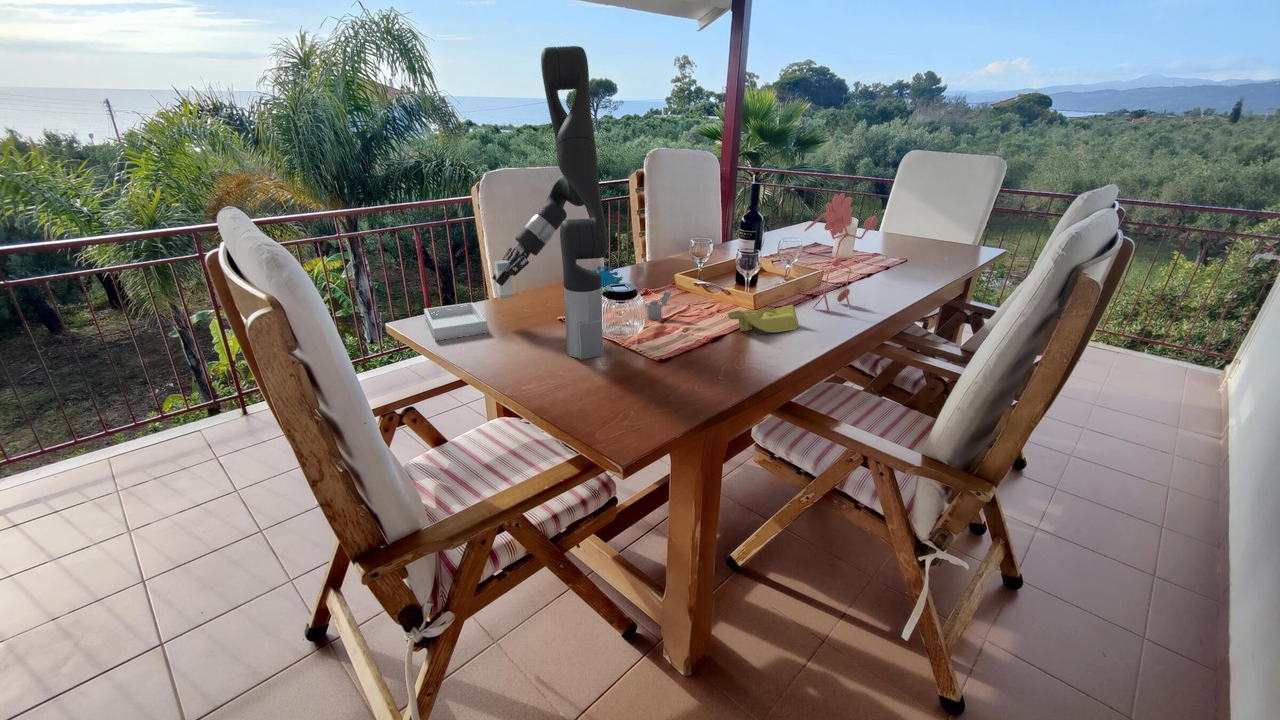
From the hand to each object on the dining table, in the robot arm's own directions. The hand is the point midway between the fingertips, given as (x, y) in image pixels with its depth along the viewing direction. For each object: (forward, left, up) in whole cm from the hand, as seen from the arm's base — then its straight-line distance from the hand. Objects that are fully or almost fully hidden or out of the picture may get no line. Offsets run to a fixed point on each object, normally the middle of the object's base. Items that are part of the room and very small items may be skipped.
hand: (496, 281), depth 152 cm
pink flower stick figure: (-28, -98, -13) cm, 103 cm away
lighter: (-15, -44, -13) cm, 48 cm away
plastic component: (-35, -66, -13) cm, 76 cm away
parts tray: (+3, +12, -12) cm, 18 cm away
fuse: (0, -2, -5) cm, 5 cm away
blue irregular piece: (+19, -42, -13) cm, 48 cm away
